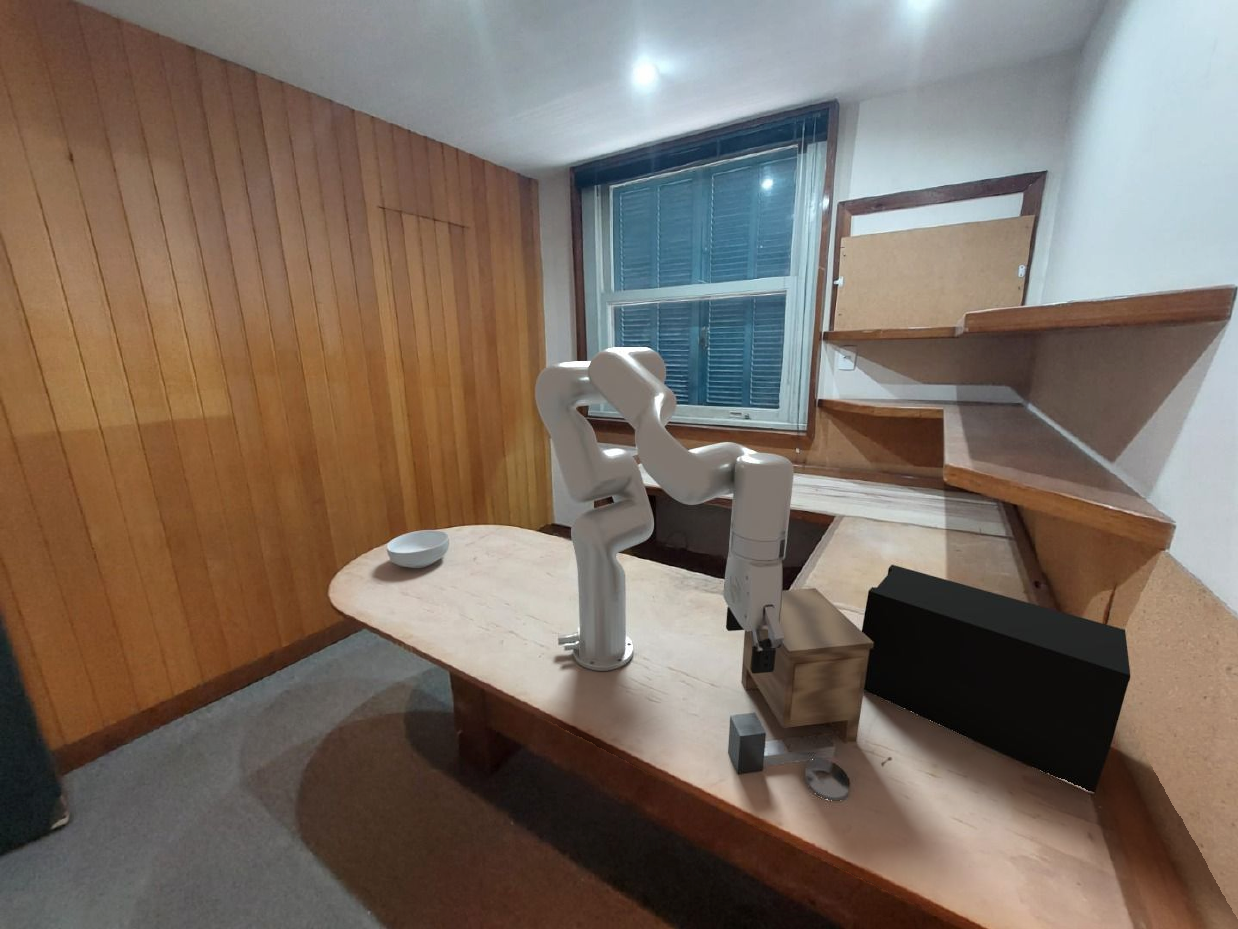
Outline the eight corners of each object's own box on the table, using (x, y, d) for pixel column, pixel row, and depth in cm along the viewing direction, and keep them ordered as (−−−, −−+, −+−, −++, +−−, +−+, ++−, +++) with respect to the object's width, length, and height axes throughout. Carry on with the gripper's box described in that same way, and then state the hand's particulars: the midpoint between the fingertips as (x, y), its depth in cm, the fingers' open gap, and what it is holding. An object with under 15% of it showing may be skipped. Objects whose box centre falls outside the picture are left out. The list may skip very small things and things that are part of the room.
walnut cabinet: (779, 753, 75) (789, 651, 70) (739, 681, 91) (744, 593, 86) (859, 743, 77) (873, 642, 72) (806, 673, 92) (815, 588, 88)
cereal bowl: (439, 545, 152) (437, 525, 151) (459, 563, 140) (457, 541, 138) (382, 561, 142) (379, 539, 140) (398, 582, 130) (395, 558, 128)
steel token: (847, 810, 66) (848, 802, 66) (801, 792, 69) (802, 783, 68) (849, 776, 71) (851, 768, 71) (807, 760, 74) (808, 752, 73)
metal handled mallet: (737, 774, 71) (740, 736, 69) (727, 752, 75) (730, 715, 73) (836, 761, 73) (841, 723, 72) (822, 740, 77) (827, 704, 75)
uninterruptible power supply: (880, 649, 100) (893, 562, 95) (1107, 739, 77) (1140, 630, 72) (853, 690, 88) (866, 593, 83) (1110, 809, 66) (1149, 686, 61)
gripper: (711, 520, 74) (705, 617, 78) (756, 574, 57) (746, 693, 62) (757, 518, 75) (749, 614, 79) (815, 571, 58) (800, 688, 63)
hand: (748, 649), depth 70 cm, fingers open, 9 cm apart
